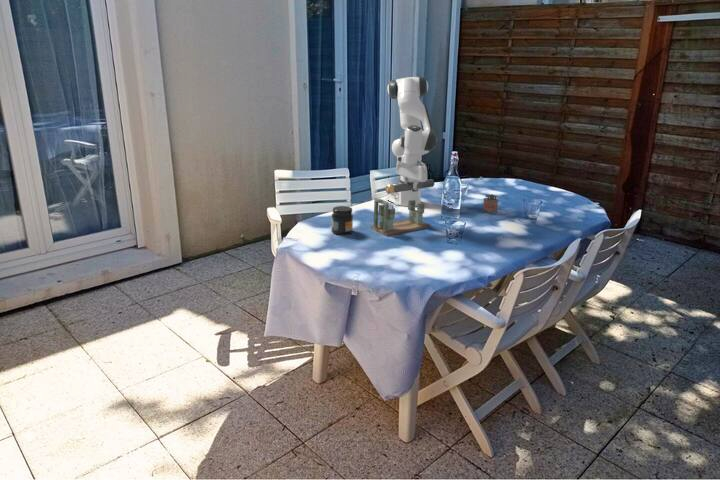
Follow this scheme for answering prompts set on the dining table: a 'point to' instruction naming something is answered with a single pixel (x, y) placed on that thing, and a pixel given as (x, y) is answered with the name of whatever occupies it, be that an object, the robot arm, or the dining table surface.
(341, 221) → the supplement container
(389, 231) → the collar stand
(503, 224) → the dining table surface
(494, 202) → the lighter
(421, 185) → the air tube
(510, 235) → the dining table surface
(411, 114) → the robot arm
